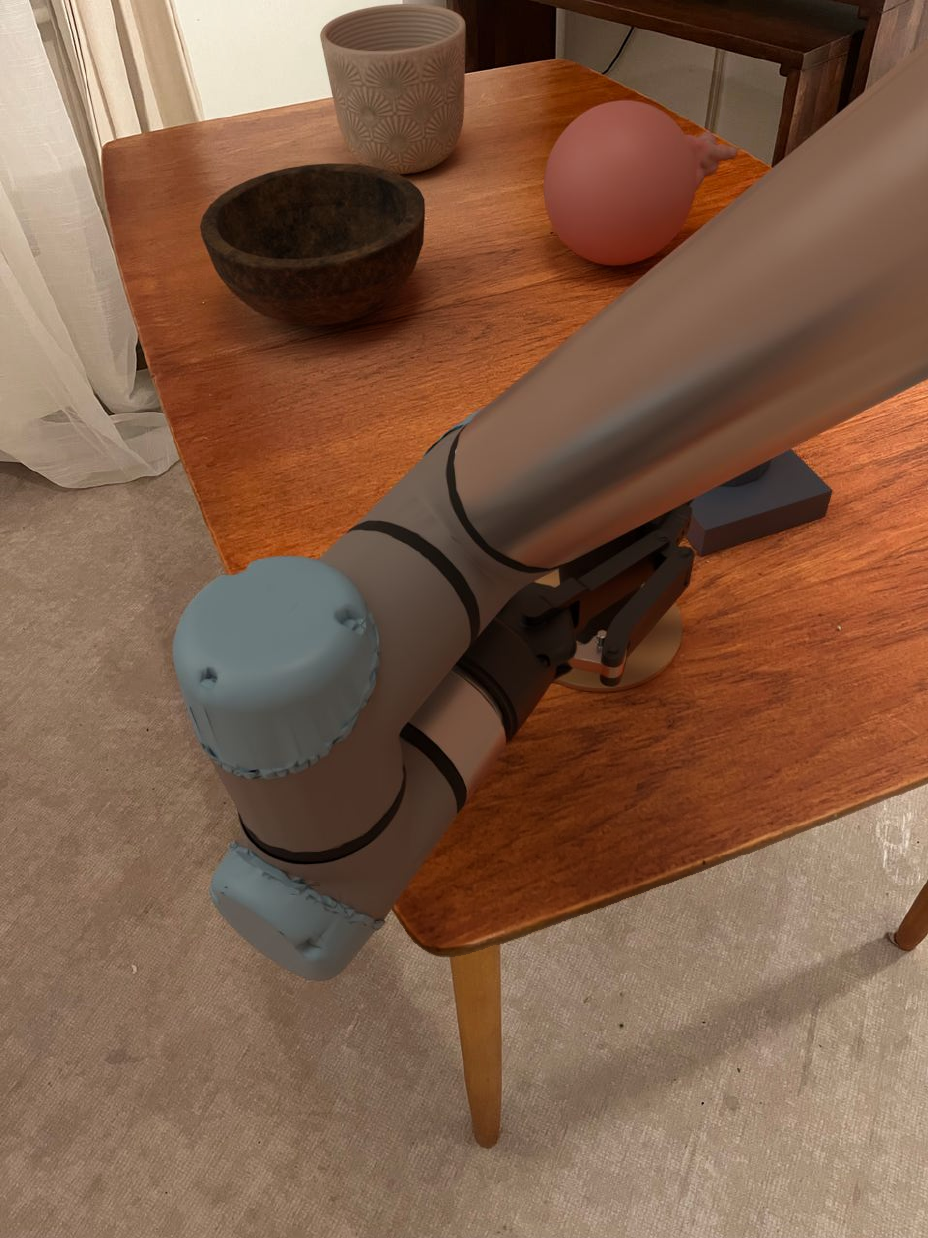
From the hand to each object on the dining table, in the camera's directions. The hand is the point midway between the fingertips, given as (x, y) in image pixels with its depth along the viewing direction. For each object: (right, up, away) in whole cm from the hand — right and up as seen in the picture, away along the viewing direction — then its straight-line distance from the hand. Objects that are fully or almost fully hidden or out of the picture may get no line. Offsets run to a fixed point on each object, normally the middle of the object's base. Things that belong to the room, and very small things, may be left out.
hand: (640, 461), depth 65 cm
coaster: (-2, -11, +6) cm, 13 cm away
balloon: (+7, +29, +41) cm, 51 cm away
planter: (-19, +48, +61) cm, 80 cm away
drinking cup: (-2, -11, +6) cm, 12 cm away
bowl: (-26, +22, +38) cm, 51 cm away
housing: (+9, +1, +16) cm, 18 cm away
